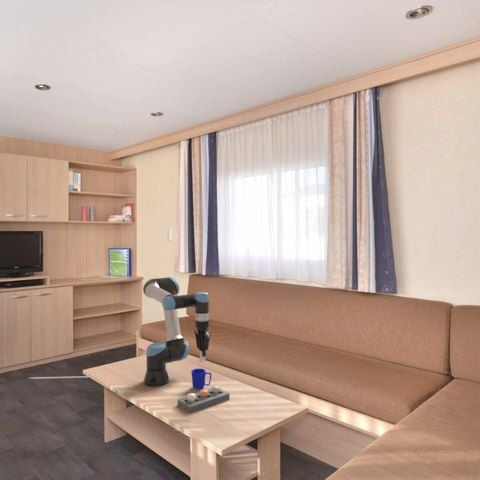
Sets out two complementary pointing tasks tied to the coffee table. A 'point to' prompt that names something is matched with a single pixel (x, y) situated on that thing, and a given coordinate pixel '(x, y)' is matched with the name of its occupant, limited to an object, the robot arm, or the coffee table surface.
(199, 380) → the mug
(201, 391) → the button terracotta
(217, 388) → the button sage
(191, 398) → the button ivory
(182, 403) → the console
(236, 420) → the coffee table surface
